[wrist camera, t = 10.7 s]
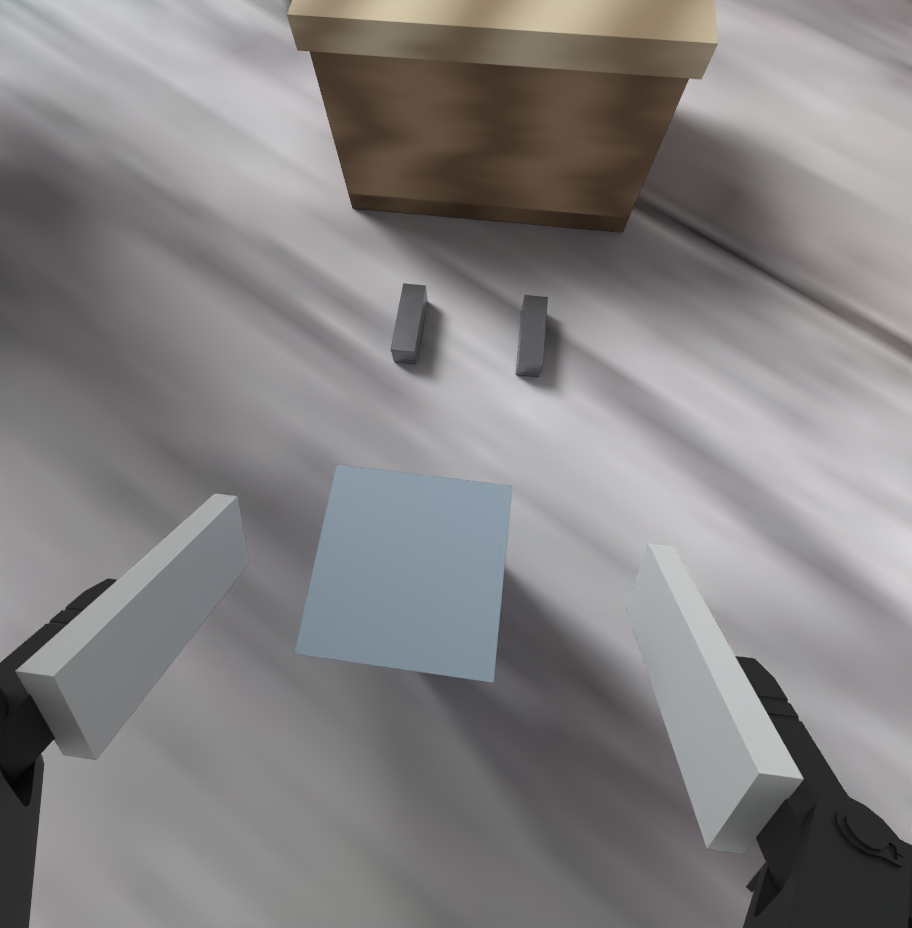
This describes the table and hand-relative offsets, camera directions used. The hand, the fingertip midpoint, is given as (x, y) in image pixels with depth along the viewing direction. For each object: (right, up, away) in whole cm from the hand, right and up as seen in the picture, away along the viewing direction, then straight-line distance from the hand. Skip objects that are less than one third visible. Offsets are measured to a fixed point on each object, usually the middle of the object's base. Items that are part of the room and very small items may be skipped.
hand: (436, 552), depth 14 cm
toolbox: (+3, +23, +13) cm, 27 cm away
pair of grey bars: (+1, +10, +9) cm, 14 cm away
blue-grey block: (0, -3, +5) cm, 6 cm away
